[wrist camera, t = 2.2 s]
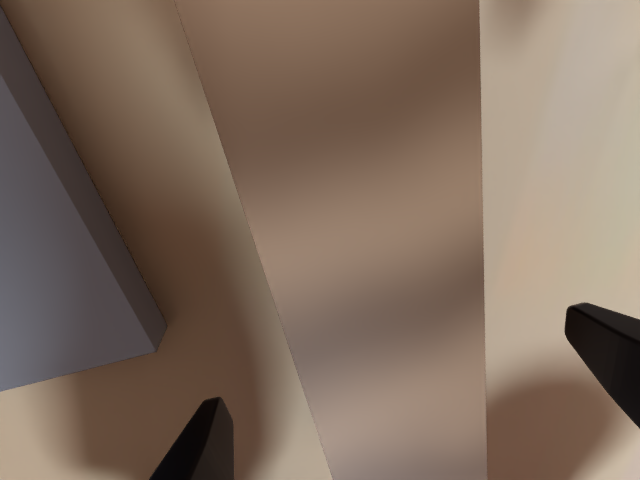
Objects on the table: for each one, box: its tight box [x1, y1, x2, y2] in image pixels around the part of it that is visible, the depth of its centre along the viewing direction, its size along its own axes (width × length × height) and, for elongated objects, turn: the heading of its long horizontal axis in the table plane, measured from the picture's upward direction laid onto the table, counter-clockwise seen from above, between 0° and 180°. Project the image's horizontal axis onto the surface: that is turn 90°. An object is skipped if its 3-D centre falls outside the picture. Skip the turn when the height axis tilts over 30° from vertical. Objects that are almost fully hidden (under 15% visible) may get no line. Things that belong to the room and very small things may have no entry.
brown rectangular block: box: [174, 0, 487, 480], centre depth 12 cm, size 18×6×5 cm, turn 12°
